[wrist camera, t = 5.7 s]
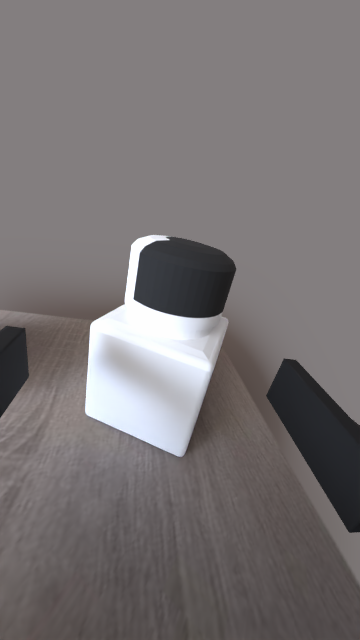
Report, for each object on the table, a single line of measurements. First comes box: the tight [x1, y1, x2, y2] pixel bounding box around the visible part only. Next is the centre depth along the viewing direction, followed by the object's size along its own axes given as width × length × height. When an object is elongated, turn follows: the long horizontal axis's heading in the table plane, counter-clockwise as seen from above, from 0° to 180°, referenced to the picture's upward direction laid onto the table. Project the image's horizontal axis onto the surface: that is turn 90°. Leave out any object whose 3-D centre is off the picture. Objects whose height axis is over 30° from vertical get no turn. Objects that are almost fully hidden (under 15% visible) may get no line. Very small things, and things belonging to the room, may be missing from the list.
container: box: [85, 235, 236, 457], centre depth 17 cm, size 8×8×13 cm
